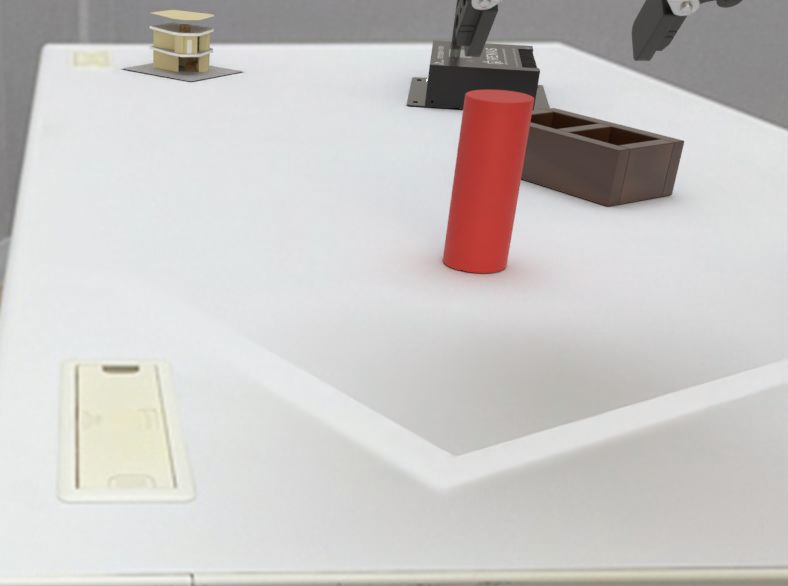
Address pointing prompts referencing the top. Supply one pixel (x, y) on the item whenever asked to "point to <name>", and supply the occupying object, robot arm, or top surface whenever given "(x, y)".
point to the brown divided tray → (599, 158)
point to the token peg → (487, 179)
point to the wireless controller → (476, 74)
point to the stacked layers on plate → (182, 49)
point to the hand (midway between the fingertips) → (554, 43)
